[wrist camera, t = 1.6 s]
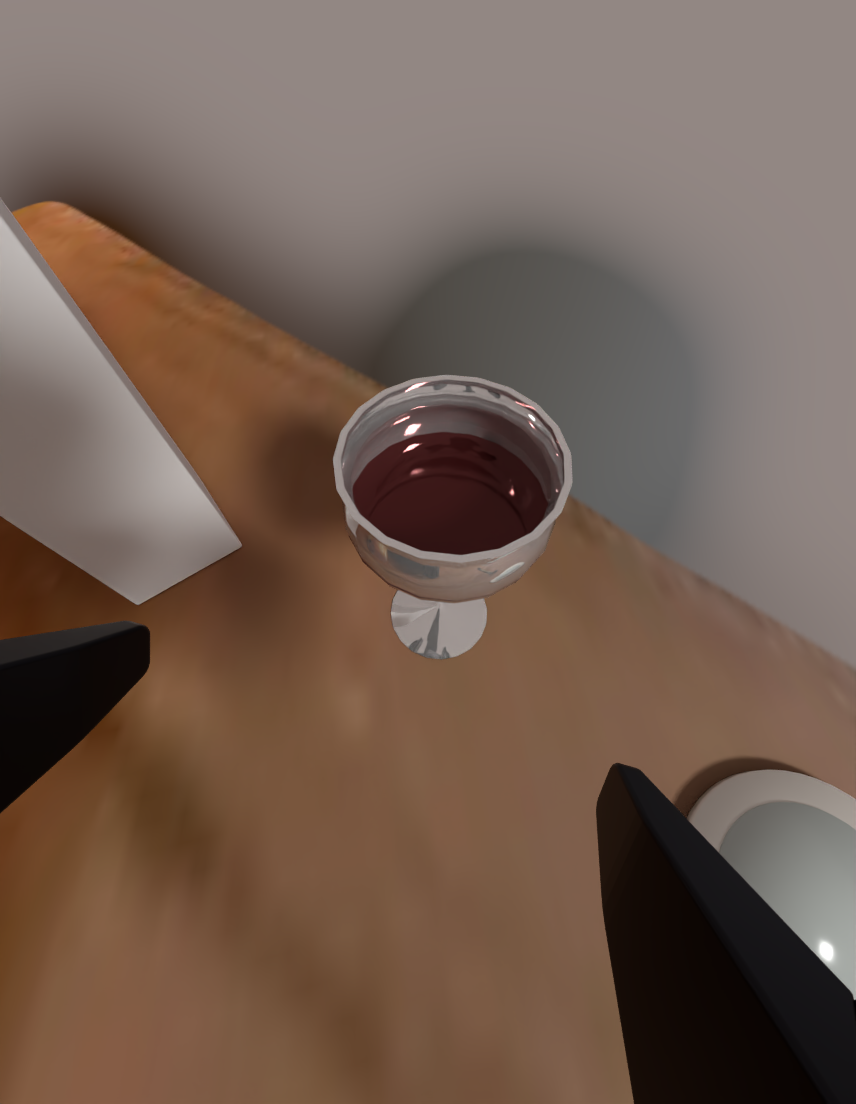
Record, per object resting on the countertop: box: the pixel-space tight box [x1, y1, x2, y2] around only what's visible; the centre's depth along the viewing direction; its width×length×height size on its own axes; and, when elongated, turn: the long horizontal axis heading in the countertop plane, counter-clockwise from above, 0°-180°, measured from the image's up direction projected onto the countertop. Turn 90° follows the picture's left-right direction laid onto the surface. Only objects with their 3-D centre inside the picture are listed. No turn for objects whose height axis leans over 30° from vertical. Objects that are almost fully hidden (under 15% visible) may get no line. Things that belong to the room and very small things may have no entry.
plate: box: [687, 770, 856, 1000], centre depth 17 cm, size 10×10×1 cm
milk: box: [0, 198, 242, 605], centre depth 15 cm, size 6×6×22 cm
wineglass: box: [333, 375, 572, 659], centre depth 18 cm, size 7×7×12 cm
